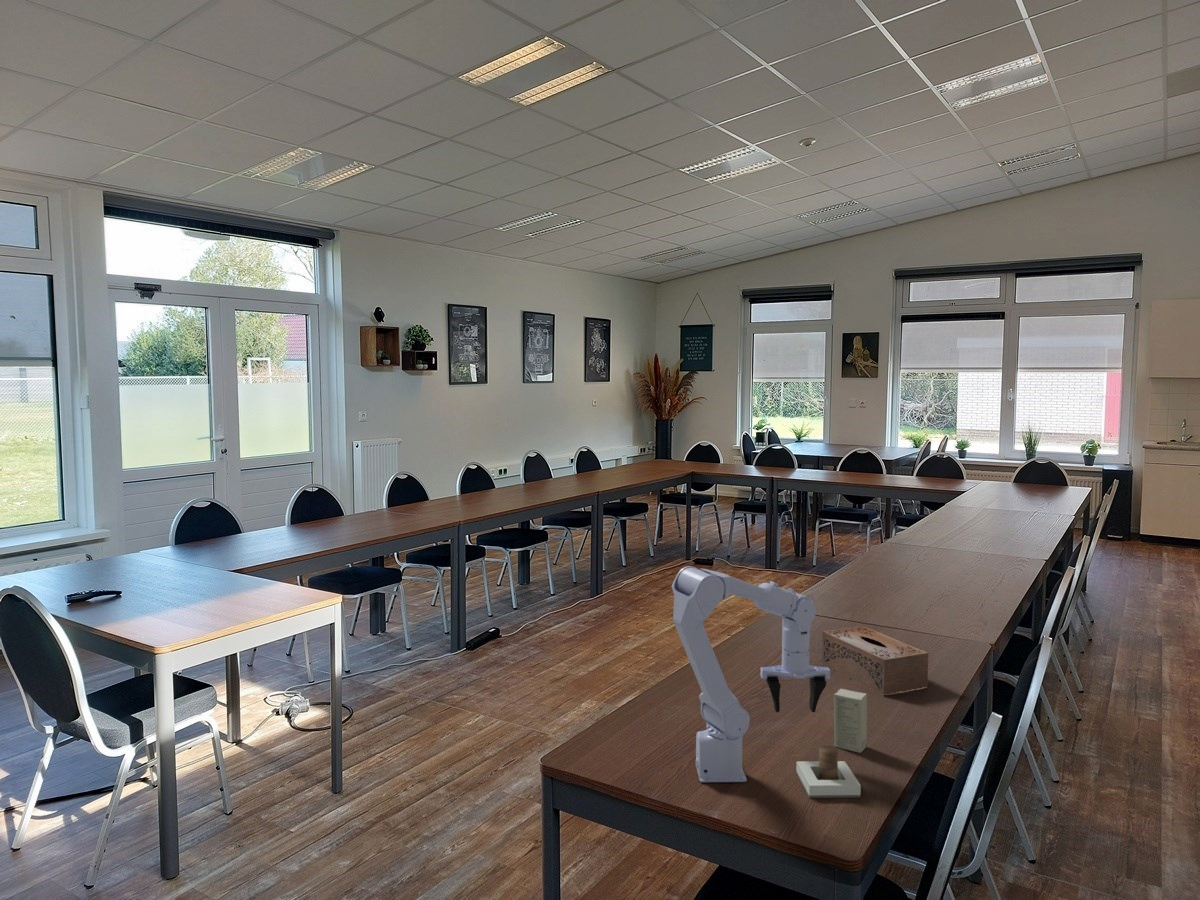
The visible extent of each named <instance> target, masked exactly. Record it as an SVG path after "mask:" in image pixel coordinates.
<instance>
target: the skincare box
mask: <svg viewBox="0 0 1200 900" xmlns="http://www.w3.org/2000/svg"><path fill="white" fill-rule="evenodd" d="M833 709H834V710H833V711H834V712H833V713H834V714H833V715H834V716H833V718H834V719H833V723H834V725H833V730H834V731H833V732H834V733H833V737H834V738H833V739H834V740H833V741H834V745H833V747H835V748H839V749H843V750H848V751H851V752H855V753H859V754H861V753H862V752H863V751H864V750H865V749H866V748H867V746H868V694H867V693H865V692H860V691H855V690H851V689H844V688H839V689H837V691H836V692H835V693H834V694H833Z"/></svg>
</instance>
